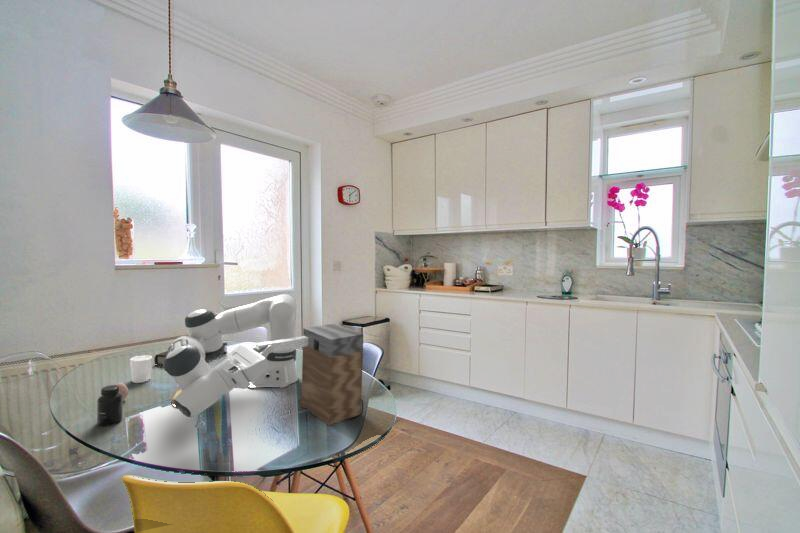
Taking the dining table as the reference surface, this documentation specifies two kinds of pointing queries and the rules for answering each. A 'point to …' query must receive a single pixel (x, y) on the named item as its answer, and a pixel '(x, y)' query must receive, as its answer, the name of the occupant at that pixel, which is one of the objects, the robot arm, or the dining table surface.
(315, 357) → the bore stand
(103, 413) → the supplement bottle
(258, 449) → the dining table surface
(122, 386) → the egg
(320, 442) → the dining table surface
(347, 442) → the dining table surface
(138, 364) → the white cup
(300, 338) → the steel bar
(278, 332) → the robot arm
